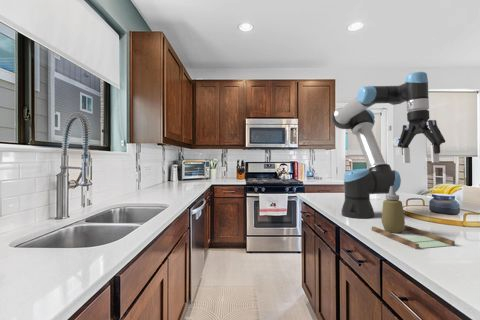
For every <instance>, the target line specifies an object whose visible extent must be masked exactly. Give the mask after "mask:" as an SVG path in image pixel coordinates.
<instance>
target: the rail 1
mask: <svg viewBox="0 0 480 320" xmlns="http://www.w3.org/2000/svg"><path fill="white" fill-rule="evenodd" d="M371 231H372V232H374V233H377V234H380V235H382V236H384V237H386V238H389V239H391V240H393V241H396V242H398V243H401V244H403V245H405V246H407V245H408V247H410V248H412V249H414V248H415V250H416V249H417V250H419V249H420V248H419V244H417V243H415V242H412V241H410V240H407V239H405V238H406V237H402V236H399V235H397V234H396V233H392V232H387V231H385V229H381V228H380V227H376V226H371Z"/></svg>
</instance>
